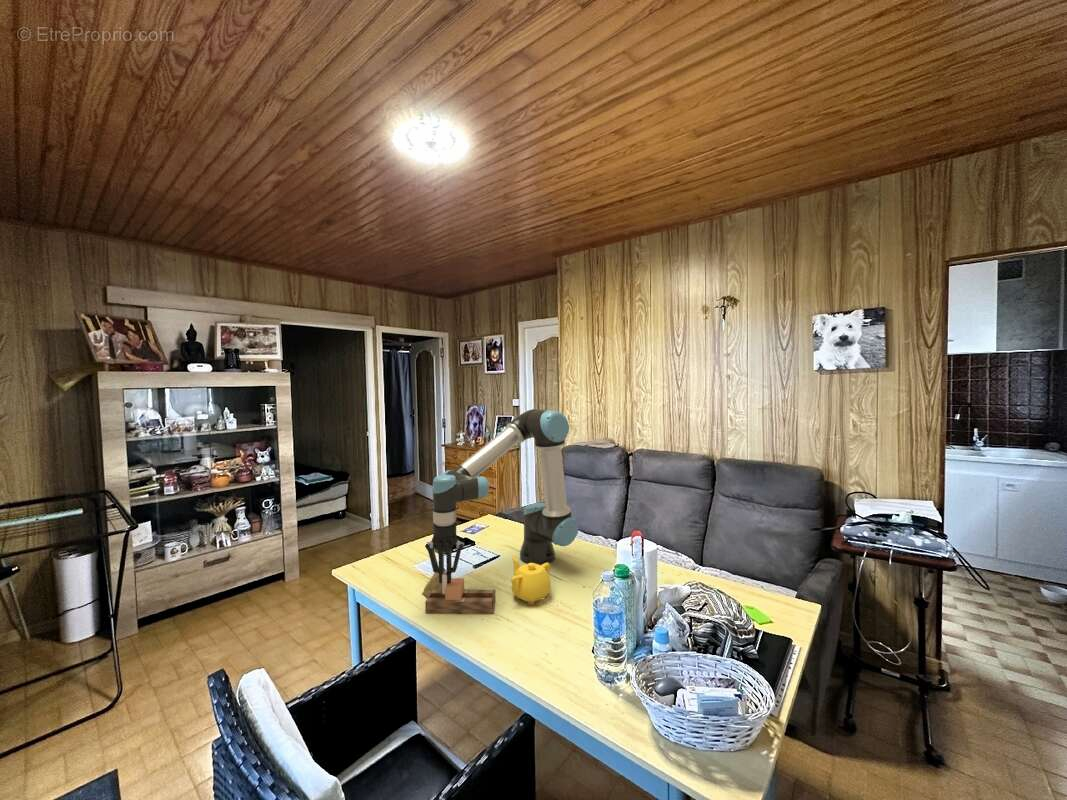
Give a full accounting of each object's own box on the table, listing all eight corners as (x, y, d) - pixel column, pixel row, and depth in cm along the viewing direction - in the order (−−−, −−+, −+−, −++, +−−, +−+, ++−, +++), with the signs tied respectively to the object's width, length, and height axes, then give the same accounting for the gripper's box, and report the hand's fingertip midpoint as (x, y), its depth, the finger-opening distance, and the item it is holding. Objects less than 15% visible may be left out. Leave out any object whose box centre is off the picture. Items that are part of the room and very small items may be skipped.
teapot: (549, 586, 154) (549, 554, 154) (551, 607, 140) (552, 572, 139) (511, 586, 154) (511, 555, 153) (510, 607, 140) (510, 572, 139)
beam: (495, 600, 144) (495, 588, 144) (493, 614, 135) (493, 601, 135) (431, 600, 144) (431, 588, 144) (425, 614, 135) (425, 601, 135)
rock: (457, 595, 143) (453, 583, 153) (445, 574, 142) (442, 564, 152) (428, 614, 140) (426, 601, 150) (416, 593, 139) (415, 581, 149)
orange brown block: (464, 597, 143) (464, 578, 143) (460, 608, 136) (460, 588, 136) (449, 597, 143) (449, 578, 143) (445, 608, 136) (445, 588, 136)
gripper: (466, 518, 142) (466, 586, 143) (427, 518, 142) (428, 586, 143) (462, 526, 135) (463, 597, 136) (422, 526, 135) (422, 598, 136)
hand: (445, 592), depth 140 cm, fingers closed
